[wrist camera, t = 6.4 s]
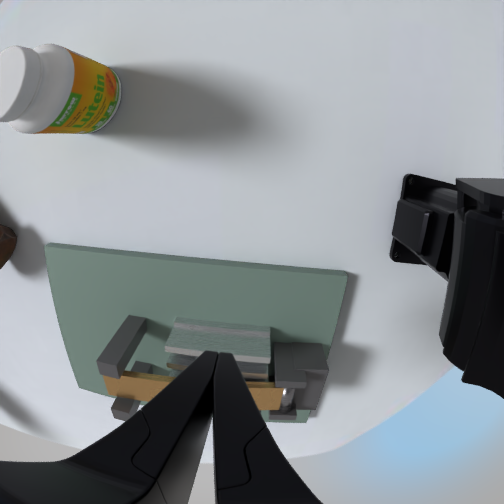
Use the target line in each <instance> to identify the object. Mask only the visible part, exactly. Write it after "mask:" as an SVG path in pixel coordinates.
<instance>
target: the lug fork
mask: <svg viewBox="0 0 504 504" xmlns="http://www.w3.org/2000/svg"><path fill="white" fill-rule="evenodd" d="M146 331H147V324H146V318H145V317H139V316H133V315H128V316H127V318H126V319H125V321H124V322H123V323H122V325H121V326H120V328H119V329H118V330H117V332H116V333H115V334H114V336H113V337H112V339H111V340H110V342H109V343H108V344H107V346H106V347H105V349H104V350H103V352H102V353H101V354H100V356H99V357H98V359H97V360H96V362H97V366H98V370H99V373H100V375H104V376H108V377H112V378H116V379H120V378H121V376H122V374H123V372H124V370H125V368H126V367H127V365H128V363H129V361H130V360H131V358H132V356H133V354H134V352H135V351H136V349H137V347H138V345H139V344H140V342H141V340H142V338H143V337H144V335H145V333H146ZM130 371H133V372H140V373H147V374H153V370H152V364H150V363H145V362H140V361H135V363H134V365H133V367H132V369H131V370H130ZM140 403H141V401H140V400H134V399H128V398H123V397H116V399H115V401H114V403H113V405H112V407H111V410H112V413H113V416H114V418H116V419H119V420H123V421H127V420H128V419H129V418H130V417H132V416H133V415H134V414H135V413H136V412H137V410H138V407H139V405H140Z"/></svg>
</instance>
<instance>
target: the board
mask: <svg viewBox="0 0 504 504" xmlns="http://www.w3.org/2000/svg"><path fill="white" fill-rule="evenodd" d="M44 251H45V258H46V265H47V271H48V276H49V282H50V287H51V292H52V297H53V301H54V306H55V310H56V314H57V318H58V322H59V326H60V330H61V334H62V337H63V341H64V344H65V348H66V351H67V354H68V357H69V360H70V363H71V366H72V369H73V372H74V375H75V378H76V381H77V383H78V386H79V388H82V389H85V390H88V391H91V392H94V393H98V394H101V395H105V396H108V397H112V398H116V397H117V396H112V395H108V391H107V388H106V385H105V382H104V378H103V375H100V373H99V370H98V366H97V362H96V360H97V359H98V357H99V356H100V354H101V353H102V352H103V350H104V349H105V347H106V346H107V344H108V343H109V342H110V340H111V339H112V337H113V336H114V334H115V333H116V332H117V330H118V329H119V328H120V326H121V325H122V323H123V322H124V321H125V319H126V318H127V316H128V315H133V316H139V317H145V318H146V324H147V331H146V333H145V335H144V337H143V338H142V340H141V342H140V344H139V345H138V347H137V349H136V351H135V352H134V354H133V356H132V358H131V360H130V361H129V363H128V365H127V367H126V368H125V370H127V371H130V370H131V369H132V367H133V365H134V363H135V361H140V362H145V363H150V364H152V370H153V374H154V375H162V376H169V374H170V371H171V368H167V364H166V362H167V360H168V357H169V355H170V352H165V344H166V342H167V340H168V337H169V335H170V333H171V331H172V329H173V327H174V321H175V319H176V317H183V318H191V319H199V320H207V321H216V322H226V323H236V324H246V325H258V326H270V352H271V359H270V364H269V363H268V377H267V379H265V382H268V378H269V376H275V369H274V342H283V343H291V342H301V343H322V346H323V350H324V354H325V357H326V361H327V357H328V354H329V350H330V347H331V343H332V340H333V336H334V332H335V328H336V325H337V321H338V317H339V313H340V309H341V305H342V300H343V296H344V292H345V288H346V283H347V279H348V276H347V274H346V273H345V271H339V270H328V269H316V268H304V267H292V266H281V265H270V264H259V263H248V262H237V261H226V260H215V259H205V258H194V257H184V256H174V255H164V254H154V253H144V252H134V251H124V250H114V249H105V248H95V247H86V246H77V245H68V244H59V243H49V244H47V245H45V246H44ZM147 403H148V402H147V401H141V403H140V405H146V404H147ZM296 411H297V417H296V420H269V410H261V415H262V417H263V419H264V421H265V422H282V423H306V422H307V420H308V417H309V414H310V411H311V410H296ZM212 417H213V415H212Z"/></svg>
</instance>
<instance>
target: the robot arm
mask: <svg viewBox="0 0 504 504" xmlns="http://www.w3.org/2000/svg"><path fill="white" fill-rule="evenodd" d="M410 178H411V179H412V182H411V184H409V179H410ZM392 235H393V240H392V245H391V249H390V258H391V259H392V260H393V261H394V262H401V263H411V264H422V265H428V266H429V267H430V268H432V269H433V270H434V271H435V272H437V273H438V274H439V275H440V276H442V277H443V278H444V279H445V280H446V281H448V286H447V292H446V298H445V304H444V309H443V315H442V319H441V324H440V331H439V336H440V339H441V342H442V345H443V347H444V349H443V354H444V355H445V356H446V357H447V359H448V360H449V361H450V362H451V363H452V364H454V365H455V366H456V367H458V368H459V369H460V370H462V371H464V373H463V376H462V379H461V380H462V382H464V383H468V384H473V385H478V386H481V387H483V388H486V389H488V390H491V391H493V392H494V393H496V394H497V395H499V396H501V397H502V398H503V399H504V179H496V178H456V185H453V184H450V183H446V182H442V181H438V180H434V179H430V178H426V177H422V176H418V175H414V174H406V175H405V176H404V178H403V184H402V191H401V197H400V200H399V201H398V203H397V209H396V215H395V220H394V226H393V231H392ZM397 252H398V256H397V257H395V254H396V253H397ZM212 415H213V458H214V484H215V504H323V503H322V502H321V501H320V500H319V499H318V498H317V497H316V496H315V495H314V494H313V493H312V492H311V490H310V489H309V488H308V487H307V485H306V484H305V483H304V482H303V481H302V479H301V478H300V477H299V475H298V474H297V473H296V471H295V470H294V469H293V468H292V467H291V465H290V464H289V462H288V461H287V459H286V458H285V456H284V455H283V454H282V452H281V451H280V449H279V447H278V446H277V444H276V442H275V440H274V439H273V437H272V435H271V433H270V431H269V429H268V428H267V425H266V423H265V421H264V419H263V417H262V415H261V413H260V411H259V409H258V407H257V405H256V403H255V401H254V399H253V397H252V394H251V392H250V390H249V388H248V386H247V384H246V382H245V380H244V377H243V375H242V373H241V371H240V369H239V367H238V364H237V362H236V360H235V358H234V356H233V354H232V353H226V352H220V353H218V352H217V351H209V350H206V351H204V352H203V353H202V354H201V355H200V356H199V357H198V358H197V359H195V360H194V361H193V362H192V363H191V364H190V365H189V366H188V367H187V368H186V369H185V370H183V371H182V372H181V373H180V374H179V375H178V376H177V377H176V378H175V379H174V380H172V381H171V382H170V383H169V384H168V385H167V386H166V387H165V388H164V389H162V390H161V391H160V392H159V393H158V394H157V395H156V396H155V397H154V398H152V399H151V400H150V401H149V402H148V403H147V404H146V405H144V406H143V407H142V408H141V410H139V411H137V412H136V413H135V414H134V415H133V416H132V417H130V418H129V419H128V420H127V421H125V422H124V423H123V424H122V425H120V426H119V427H118V428H116V429H115V430H113V431H112V432H110V433H109V434H107V435H106V436H104V437H103V438H101V439H100V440H98V441H96V442H95V443H93V444H92V445H90V446H88V447H87V448H85V449H83V450H82V451H80V452H79V453H77V454H75V455H73V456H71V457H69V458H67V459H64V460H61V461H55V462H12V461H0V504H188V501H189V497H190V494H191V490H192V487H193V484H194V480H195V477H196V473H197V470H198V466H199V463H200V459H201V456H202V452H203V449H204V445H205V442H206V438H207V435H208V431H209V428H210V424H211V420H212Z"/></svg>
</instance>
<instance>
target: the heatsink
mask: <svg viewBox="0 0 504 504" xmlns="http://www.w3.org/2000/svg"><path fill="white" fill-rule="evenodd" d="M206 350H209V351H217V352H218V353H220V352H226V353H232V354H233V356H234V358H235V360H236V362H237V364H238V367H239V369H240V371H241V373H242V375H243V377H244V380H245V382H265V379H267V377H268V363H269V364H270V359H271V352H270V326H258V325H246V324H236V323H226V322H216V321H207V320H199V319H191V318H183V317H176V319H175V321H174V327H173V329H172V331H171V333H170V335H169V337H168V340H167V342H166V344H165V352H170V355H169V357H168V360H167V362H166V364H167V368H171V371H170V374H169V376H171V377H177V376H178V375H179V374H180V373H181V372H182V371H183V370H185V369H186V368H187V367H188V366H189V365H190V364H191V363H192V362H193V361H194V360H195V359H197V358H198V357H199V356H200V355H201V354H202V353H203V352H204V351H206ZM259 411H260V413H261V410H259Z"/></svg>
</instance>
